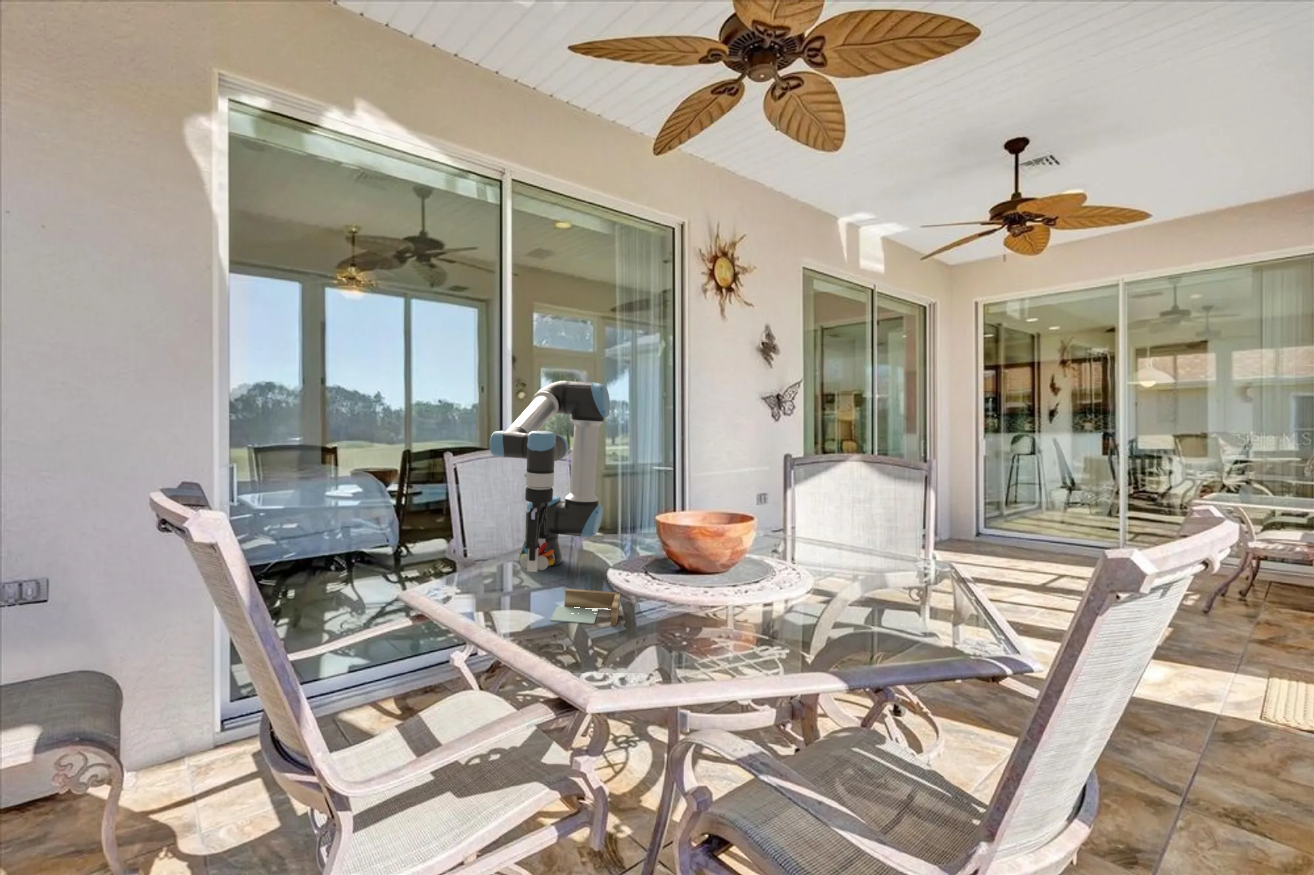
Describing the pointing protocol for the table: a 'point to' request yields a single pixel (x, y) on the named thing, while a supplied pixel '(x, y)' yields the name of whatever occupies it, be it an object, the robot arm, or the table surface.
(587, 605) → the wooden bracket
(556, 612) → the pad
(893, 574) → the table surface
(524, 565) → the rainbow petal toy
